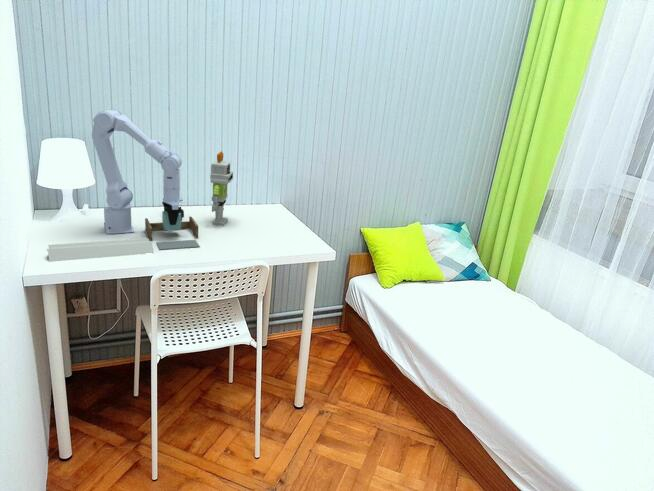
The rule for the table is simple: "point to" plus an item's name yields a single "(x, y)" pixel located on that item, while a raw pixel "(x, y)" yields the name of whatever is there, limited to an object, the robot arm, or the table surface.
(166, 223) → the block
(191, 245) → the mat
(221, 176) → the toy
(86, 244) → the crown molding
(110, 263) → the table surface
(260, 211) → the table surface
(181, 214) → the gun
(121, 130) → the robot arm
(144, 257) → the table surface
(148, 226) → the frame
